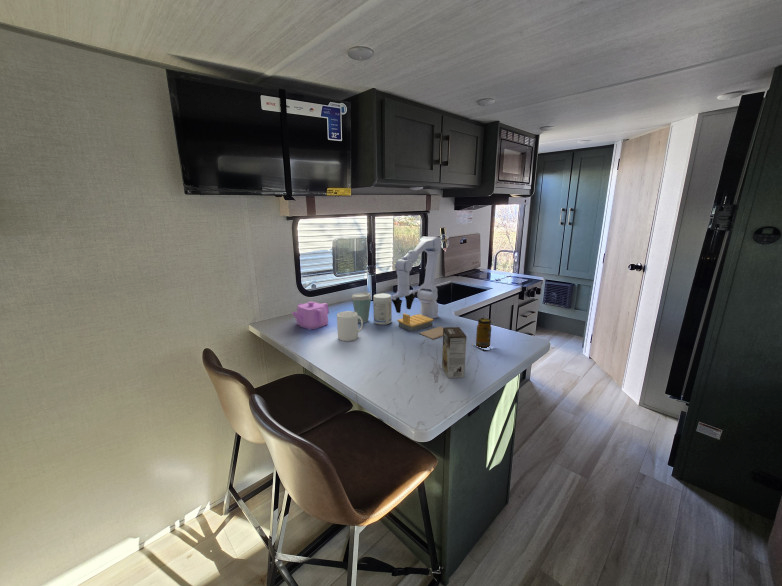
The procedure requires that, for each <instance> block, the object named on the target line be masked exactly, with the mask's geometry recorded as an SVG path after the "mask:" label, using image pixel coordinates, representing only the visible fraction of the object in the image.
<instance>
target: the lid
mask: <svg viewBox="0 0 782 586" xmlns="http://www.w3.org/2000/svg"><path fill="white" fill-rule="evenodd" d="M434 319H435V318H433V319H432V318H429V317H426V316H423V315H421V313H418V314H415V315H414V314H413V315H410V314H407V313H406V312H405V313H402V318H399V319H397V320H396V321H397V322H398V323H399V322H400V323H403V324H405V325H407V326H410V327H414V326H418V325H421V324H424V323H428V322H431V321H432V322H434Z"/></svg>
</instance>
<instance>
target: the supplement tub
mask: <svg viewBox="0 0 782 586" xmlns="http://www.w3.org/2000/svg"><path fill="white" fill-rule="evenodd" d="M372 300H373V303H372V304H373V306H372V307H373V322H374V324H376V325H381V326H382V325H383V326H384V325H389V324H390V323H392V318H393V317H392V307H393V306H392V304H393V302H392V295H391V294H390V293H383V292H382V293H376V294H374V295H373V299H372Z"/></svg>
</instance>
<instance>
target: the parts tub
mask: <svg viewBox="0 0 782 586" xmlns="http://www.w3.org/2000/svg"><path fill="white" fill-rule="evenodd" d="M432 326H433V321H431V322H428V323H424V324H421V325H418V326H414V327H410V326H407V325H405V324H403V323H400V322H398V327H400V328H402V329H405V330H406V331H408V332H411V333H413V332H416V331H418V330H423V329H425V328H428V327H432Z"/></svg>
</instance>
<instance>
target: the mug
mask: <svg viewBox="0 0 782 586" xmlns="http://www.w3.org/2000/svg"><path fill="white" fill-rule="evenodd" d="M358 319H360V320H361V324H360V328H359V322H358ZM336 325H337V327H336V328H337V337H338V338H337V339H338V340H340V341H341V340H342V342H353V341H356V340H357V339H358V337H359V332H362V329H363V327H364V323H363V321H362V318H361V317H360V316H357V313H356V312H354V310H344V311H340V312H337V314H336Z"/></svg>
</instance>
